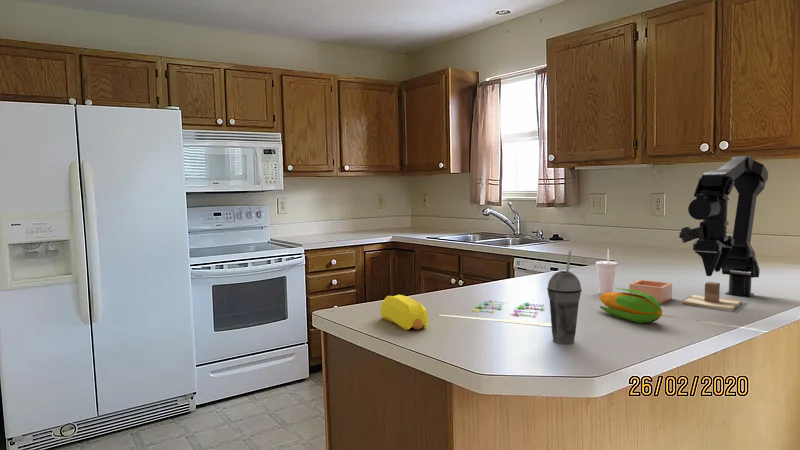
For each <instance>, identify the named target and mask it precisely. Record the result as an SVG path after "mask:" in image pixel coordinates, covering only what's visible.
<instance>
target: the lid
mask: <svg viewBox="0 0 800 450" xmlns="http://www.w3.org/2000/svg"><path fill="white" fill-rule="evenodd" d="M720 285H721V283H720V282H712V281H707V282H705V283H704V295H698V294H693V295H690V296H691V297H689V296H688V297H689V298H688V299H686V300H684V301H682V300H681V301H682V305H690V306H697V307H705V308H712V309H720V310H727V311H732V310H734V309H735V308H736V307H737V306H738V305H740V304H741V302H742V300H741V299H732V298H724V297H720V295H721V294H720V292H721V291H720V290H721V288H720V287H721V286H720Z"/></svg>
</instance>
